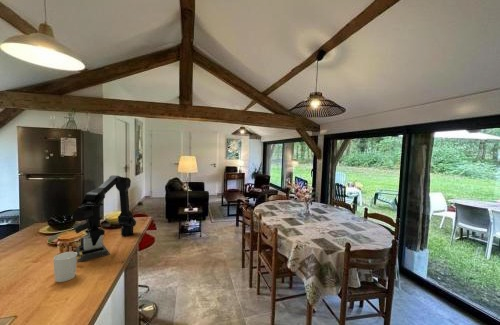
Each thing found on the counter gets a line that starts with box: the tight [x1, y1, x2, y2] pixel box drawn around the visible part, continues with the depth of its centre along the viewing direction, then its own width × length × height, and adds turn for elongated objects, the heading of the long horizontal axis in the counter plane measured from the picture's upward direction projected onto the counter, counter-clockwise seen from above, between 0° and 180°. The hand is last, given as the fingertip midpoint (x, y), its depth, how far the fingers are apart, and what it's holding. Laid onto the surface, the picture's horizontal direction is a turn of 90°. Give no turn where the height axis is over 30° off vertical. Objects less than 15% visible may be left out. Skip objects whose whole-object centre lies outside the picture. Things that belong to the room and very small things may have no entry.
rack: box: [76, 235, 111, 263], centre depth 122 cm, size 14×21×6 cm, turn 46°
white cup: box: [53, 251, 78, 283], centre depth 96 cm, size 8×8×10 cm
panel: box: [83, 235, 104, 250], centre depth 117 cm, size 8×2×6 cm, turn 136°
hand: (93, 244), depth 117 cm, fingers closed on panel, 2 cm apart
